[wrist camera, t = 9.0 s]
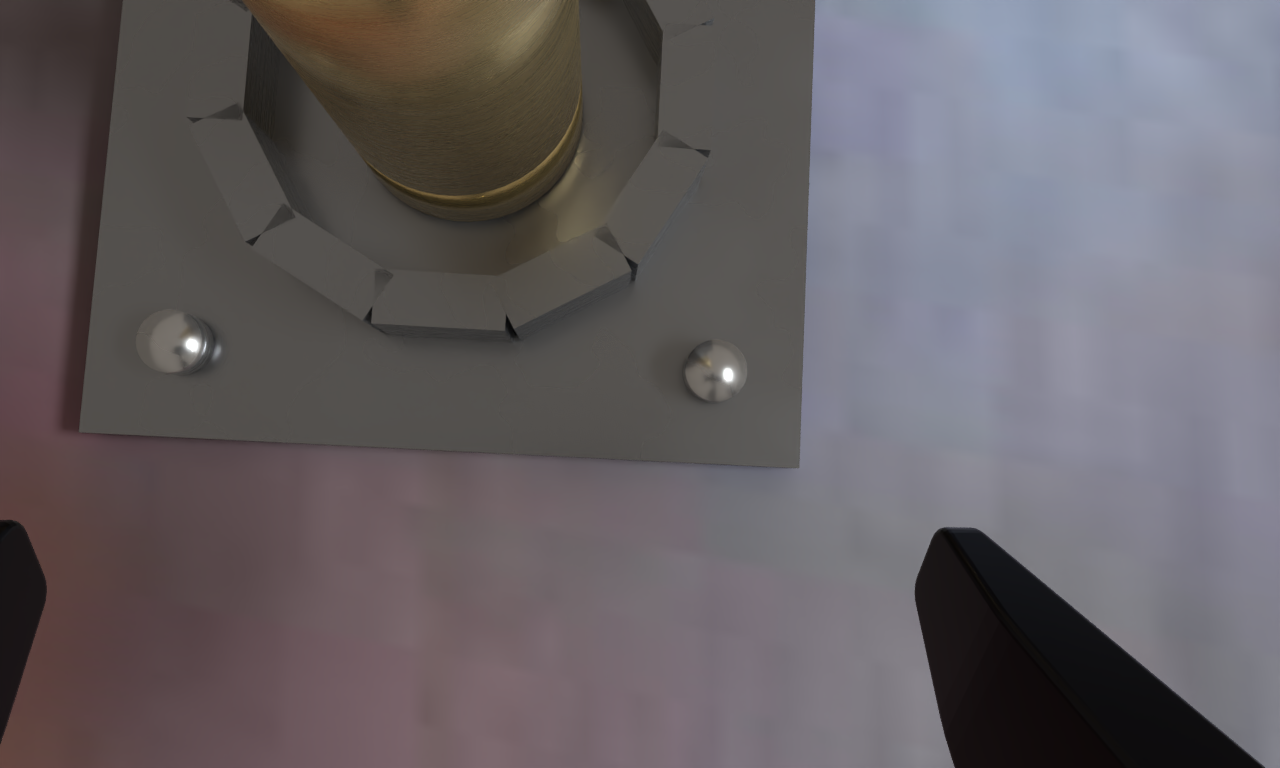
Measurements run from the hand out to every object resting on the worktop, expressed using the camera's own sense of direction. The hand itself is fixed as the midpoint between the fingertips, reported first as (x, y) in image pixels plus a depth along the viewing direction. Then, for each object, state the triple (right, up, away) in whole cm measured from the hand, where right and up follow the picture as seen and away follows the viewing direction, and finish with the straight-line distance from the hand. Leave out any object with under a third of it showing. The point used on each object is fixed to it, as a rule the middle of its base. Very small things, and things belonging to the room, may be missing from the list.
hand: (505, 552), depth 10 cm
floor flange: (-2, +7, +10) cm, 13 cm away
